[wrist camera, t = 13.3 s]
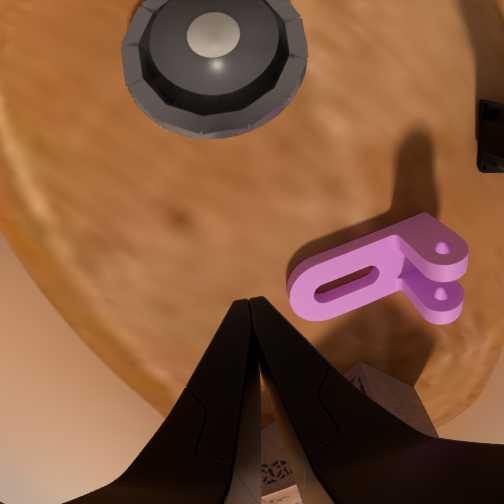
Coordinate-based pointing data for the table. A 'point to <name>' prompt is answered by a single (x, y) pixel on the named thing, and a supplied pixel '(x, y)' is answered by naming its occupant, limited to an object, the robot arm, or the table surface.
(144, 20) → the shallow metal dish
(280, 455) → the tissue box cover
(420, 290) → the bracket
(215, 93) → the cap
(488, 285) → the table surface
